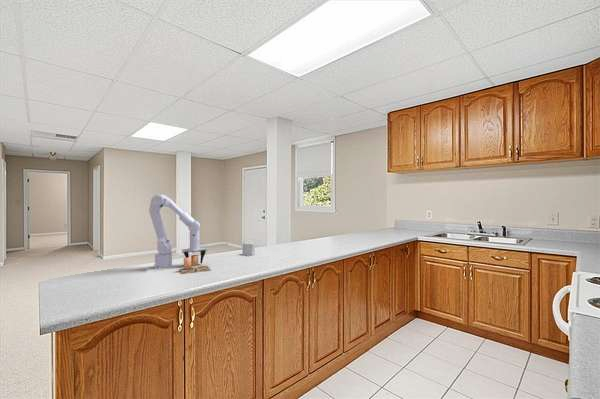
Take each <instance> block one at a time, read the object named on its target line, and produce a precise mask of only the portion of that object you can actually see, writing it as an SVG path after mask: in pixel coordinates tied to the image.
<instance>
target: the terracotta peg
mask: <svg viewBox="0 0 600 399" xmlns="http://www.w3.org/2000/svg"><path fill="white" fill-rule="evenodd" d="M190 258H191V267H196V266H199V255H198V254H191V256H190Z"/></svg>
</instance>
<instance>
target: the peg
mask: <svg viewBox="0 0 600 399" xmlns="http://www.w3.org/2000/svg"><path fill="white" fill-rule="evenodd" d="M191 267H192V266H191V257H189V258H186V257H184V258H183V268H184V271H185V270H191Z"/></svg>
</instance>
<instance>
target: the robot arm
mask: <svg viewBox="0 0 600 399" xmlns="http://www.w3.org/2000/svg"><path fill="white" fill-rule="evenodd" d="M163 207H168V208H170V210H172V212H174V213H175V214H176V215H177V216H178V218H179V220H180V221H181V223H183V224H184V225H185V226H186V227H187V228H188V230H189V248H184V249H181V254H183V255H184V258H190V257H189V255H190V253H196V252H200V253H199V254H200V260H199V261H200V264H203V260H204V257H205V255H206V252H208V247H200V246H201V244H200V241H201V239H200V237H201V236H200V234H201V233H200V228H201V224H200V222H199V221H198V220H196V219H195V218H193V217H192V216H191V213H190V212H187V211H186V212H185V211H183V210H182V209H181V208H180V206H178V205H177V204H176V203H175V202H174V201H173V199H171V198H170V197H168V196H167V195H166V194H164V193H162V194H157V193H156V194H155V195H153V196H152V198H151V199H150V204H149V209H148V211H149V216H150V218H151V222H152V226H153V228H154V230H155V234H156V238H157V242H156V244H157V249H156V251H157V252H158V253H155V254H154V265H153V266H154V269H155V270H156V269H157V270H158V269H168V268H171V267H173V252H172V249H173V247H174V244H173V242H172V241H170V238H169V237H168V235H167V232H166V228H165V225H164V222H163V218H162V215H161V212H160V211H161V210H162V208H163Z"/></svg>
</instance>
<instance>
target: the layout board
mask: <svg viewBox="0 0 600 399" xmlns="http://www.w3.org/2000/svg"><path fill="white" fill-rule="evenodd" d="M211 271H212V269H211V267H210V266H209V264H208V265H198V266H191V270H185V271H184V267H180V268H179V274H180V275H187V274H195V273H202V272H211Z"/></svg>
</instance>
